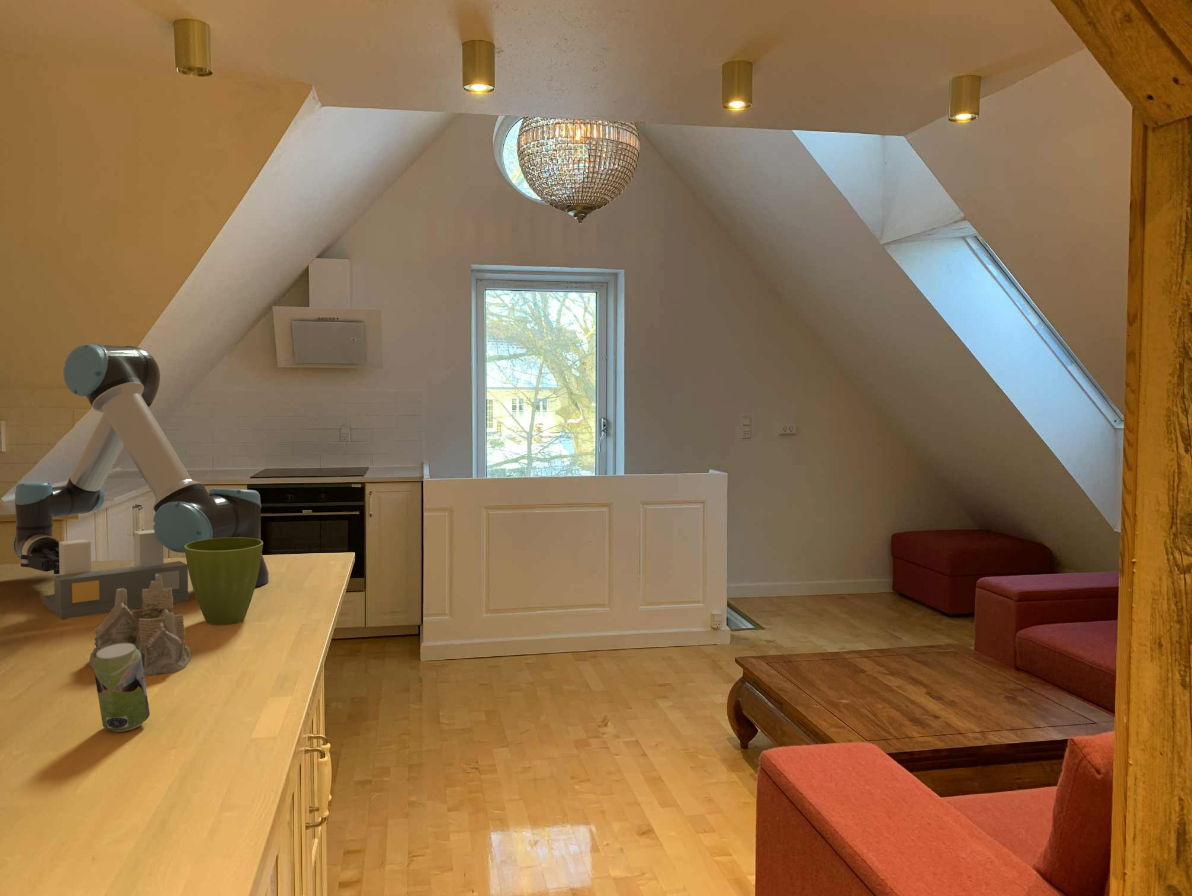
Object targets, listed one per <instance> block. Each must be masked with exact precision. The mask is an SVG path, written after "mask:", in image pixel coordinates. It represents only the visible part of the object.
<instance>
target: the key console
mask: <svg viewBox="0 0 1192 896" xmlns="http://www.w3.org/2000/svg"><path fill="white" fill-rule="evenodd" d="M157 574H158V575H161V577H162V582H163V587H164V588H170V587H171V589H172V596H173V604H174V603H181V602H187V601H190V592H189V571H188V567H187V563H184V562H183V561H180V560H178V561H171V562H169V561H168V562H163V563H159V564H151V565H142V566H127V567H118V568H109V569H101V570H91V572H83V573H75V574H66V575H60V574H57V575H54V576H53V581H54V582H53V583H54V584H53V585H54V589H53V591H54V594H48V595H47V594H46V595H43V599H42V601H43V606H44V605H45V606H44V607H46V608H47V609H48V610H49V609H50V610H49V611H51V612H52V613H53V614H55V616H57V617H58V618H60V619H61V620H67V619H72V618H79V617H86V616H92V615H93V616H95V615H99V614H101V615H102V614H107V613H108V614H109V613H110V612H111V609H113V607H114V606H115V597H116V590H117V589H121V588H124V589H126V590H127V592H126V593H127V607H128V609H130V610H136V609H140V608H141V609H142V605H141V603H142V600H141V593H142V589H149V587H150V584H151V581H154V580H155V575H157Z"/></svg>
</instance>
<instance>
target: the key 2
mask: <svg viewBox="0 0 1192 896" xmlns="http://www.w3.org/2000/svg"><path fill="white" fill-rule="evenodd" d="M133 554H134V556H133V561H134V563H133V565H134V566H142V565H151V564H159V563H164V545H162V544H161V542H160V541H159V540H158V538H157V537H156V535H155V532H154V529H149V530H148V529H147V530H139V531H138V530H135V531H133ZM134 566H133V567H134Z"/></svg>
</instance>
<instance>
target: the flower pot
mask: <svg viewBox="0 0 1192 896" xmlns="http://www.w3.org/2000/svg"><path fill="white" fill-rule="evenodd" d="M263 546H264V542H263V540H262V539H261V540H259V539H254V538H241V537H227V538H213V539H204V540H198V541H194V542H190V543H188V544H186V545H185V546H184V549H185V553H184V555H185V560H186V564H187V567H188V576H189V579H190V582H191V586H192V588H193V592H194V596H195V598H196V601H197V605H198V607H199V608H200V612H201V614H202V616H203V619H204V620H205V622H206V623H207V624H209V625H217V626H223V625H224V626H225V625H232V624H237V623H240V622H242V621H244V620H245V618H246V616H247V614H248V610H249V607H250V605H251V603H252V602H251V601H252V598H253V595H254V591H255V588H256V587H255V585H256V581H257V577H258V573H259V568H260V562H261V555H263V553H262V552H263Z"/></svg>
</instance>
